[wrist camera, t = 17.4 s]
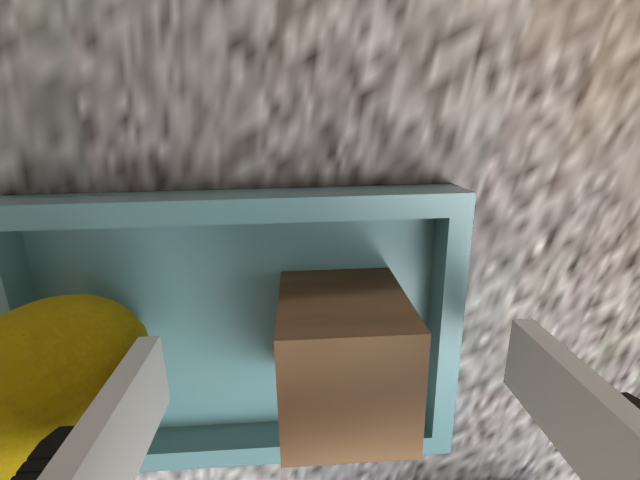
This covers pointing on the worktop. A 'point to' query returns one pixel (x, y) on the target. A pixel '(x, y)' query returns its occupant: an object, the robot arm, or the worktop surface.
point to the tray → (241, 289)
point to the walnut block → (349, 368)
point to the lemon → (56, 366)
